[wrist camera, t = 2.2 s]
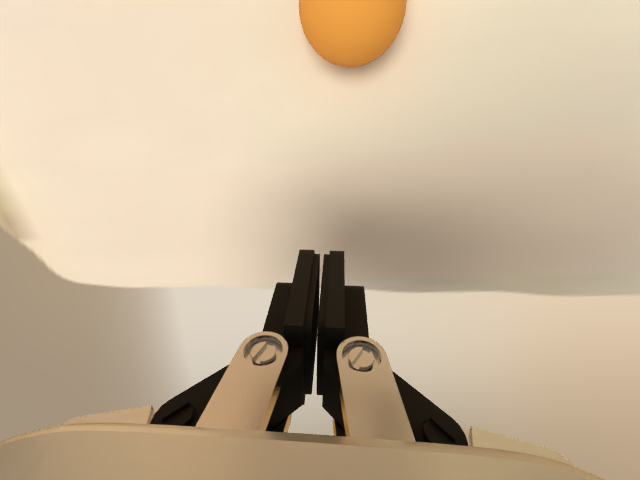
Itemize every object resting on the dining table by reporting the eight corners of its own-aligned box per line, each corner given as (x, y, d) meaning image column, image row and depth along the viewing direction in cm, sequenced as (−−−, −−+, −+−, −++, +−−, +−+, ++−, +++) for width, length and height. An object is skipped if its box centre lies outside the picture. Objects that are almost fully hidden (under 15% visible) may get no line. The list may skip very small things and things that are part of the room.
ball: (405, -48, 16) (425, -87, 12) (392, 66, 19) (405, 69, 14) (305, -48, 16) (288, -85, 12) (306, 64, 19) (292, 67, 15)
